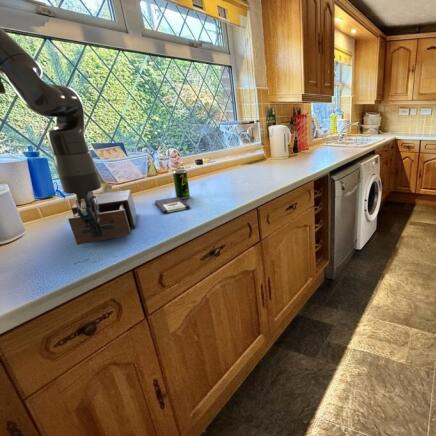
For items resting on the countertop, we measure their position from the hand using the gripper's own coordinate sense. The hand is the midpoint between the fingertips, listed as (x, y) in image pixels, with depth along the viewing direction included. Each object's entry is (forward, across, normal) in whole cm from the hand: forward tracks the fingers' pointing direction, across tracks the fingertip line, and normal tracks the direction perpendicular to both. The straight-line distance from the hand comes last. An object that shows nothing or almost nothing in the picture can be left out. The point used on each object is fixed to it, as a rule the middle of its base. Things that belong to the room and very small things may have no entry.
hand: (98, 236), depth 80 cm
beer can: (+4, +46, -24) cm, 52 cm away
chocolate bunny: (+4, +50, +2) cm, 50 cm away
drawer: (+3, +11, 0) cm, 12 cm away
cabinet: (+4, +23, 0) cm, 23 cm away
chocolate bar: (+4, +36, -19) cm, 41 cm away
